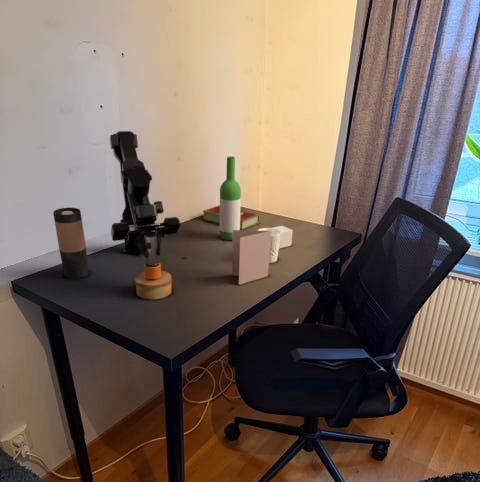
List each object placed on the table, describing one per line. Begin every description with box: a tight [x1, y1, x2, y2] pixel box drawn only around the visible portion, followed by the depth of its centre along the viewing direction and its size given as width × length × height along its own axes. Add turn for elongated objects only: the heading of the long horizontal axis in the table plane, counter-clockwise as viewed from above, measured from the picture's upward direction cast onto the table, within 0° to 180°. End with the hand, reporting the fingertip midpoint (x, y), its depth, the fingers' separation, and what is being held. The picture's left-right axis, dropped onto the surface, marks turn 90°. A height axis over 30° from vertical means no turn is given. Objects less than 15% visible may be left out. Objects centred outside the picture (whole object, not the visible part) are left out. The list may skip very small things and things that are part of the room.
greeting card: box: [231, 229, 271, 285], centre depth 134 cm, size 11×7×15 cm, turn 91°
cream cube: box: [273, 225, 294, 249], centre depth 165 cm, size 6×6×6 cm
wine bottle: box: [219, 155, 242, 241], centre depth 164 cm, size 8×8×30 cm
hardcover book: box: [202, 204, 260, 230], centre depth 188 cm, size 12×21×4 cm, turn 54°
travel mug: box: [52, 207, 90, 280], centre depth 133 cm, size 8×8×20 cm
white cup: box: [257, 227, 281, 264], centre depth 151 cm, size 8×8×10 cm
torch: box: [143, 231, 162, 279], centre depth 124 cm, size 5×5×13 cm
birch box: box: [134, 270, 173, 300], centre depth 128 cm, size 10×10×4 cm
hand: (152, 256), depth 122 cm, fingers closed on torch, 3 cm apart
